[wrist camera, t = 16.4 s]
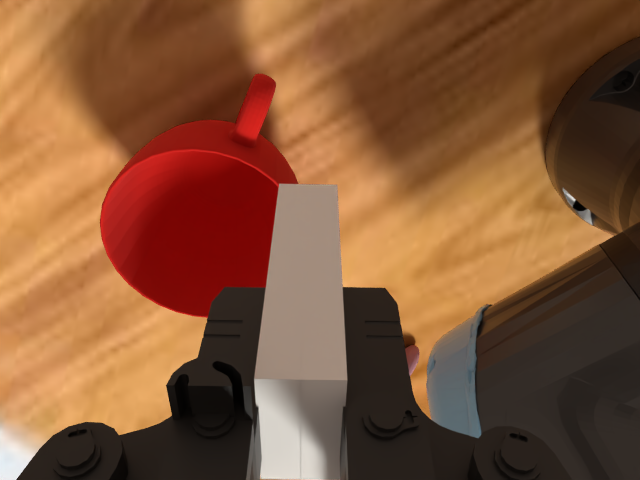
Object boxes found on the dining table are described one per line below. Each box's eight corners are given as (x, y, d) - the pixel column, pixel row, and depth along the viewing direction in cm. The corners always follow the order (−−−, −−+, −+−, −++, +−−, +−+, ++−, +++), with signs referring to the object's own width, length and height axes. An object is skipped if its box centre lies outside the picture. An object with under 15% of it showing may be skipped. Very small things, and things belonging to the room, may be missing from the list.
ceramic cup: (360, 82, 40) (370, 140, 31) (273, 259, 48) (263, 341, 40) (182, 3, 37) (142, 44, 28) (124, 206, 45) (80, 283, 37)
